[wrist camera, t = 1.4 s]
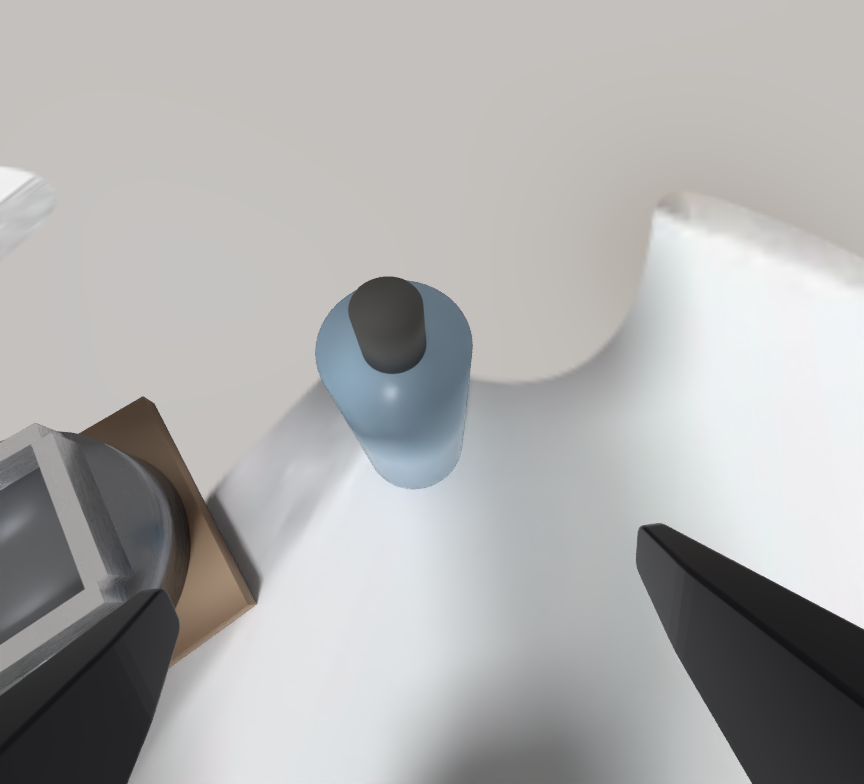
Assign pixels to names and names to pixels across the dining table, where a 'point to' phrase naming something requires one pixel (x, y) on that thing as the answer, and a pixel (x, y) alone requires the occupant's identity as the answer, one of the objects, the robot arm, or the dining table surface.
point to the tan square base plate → (105, 537)
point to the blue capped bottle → (399, 376)
